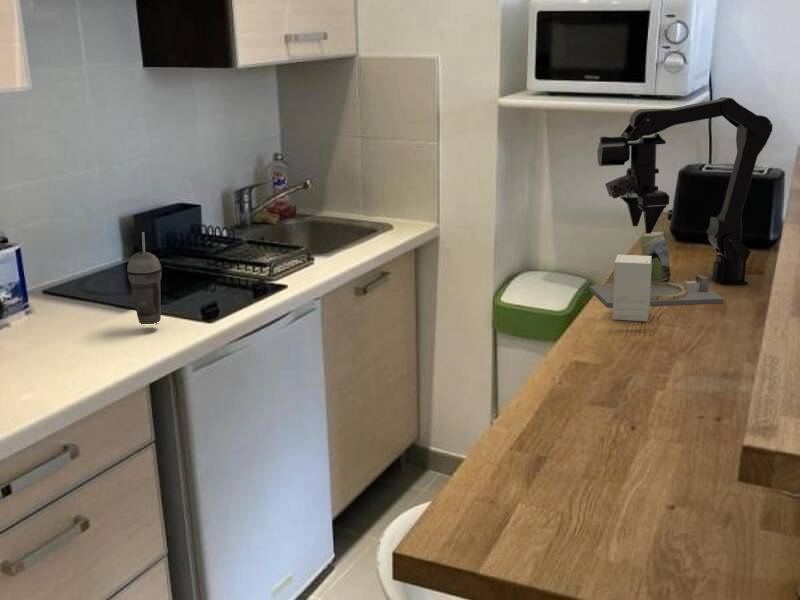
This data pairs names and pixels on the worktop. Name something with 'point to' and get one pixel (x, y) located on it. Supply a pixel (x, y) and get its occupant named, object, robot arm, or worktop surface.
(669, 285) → the tan curved band
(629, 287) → the supplement box
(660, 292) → the base
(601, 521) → the worktop surface
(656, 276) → the beverage can
